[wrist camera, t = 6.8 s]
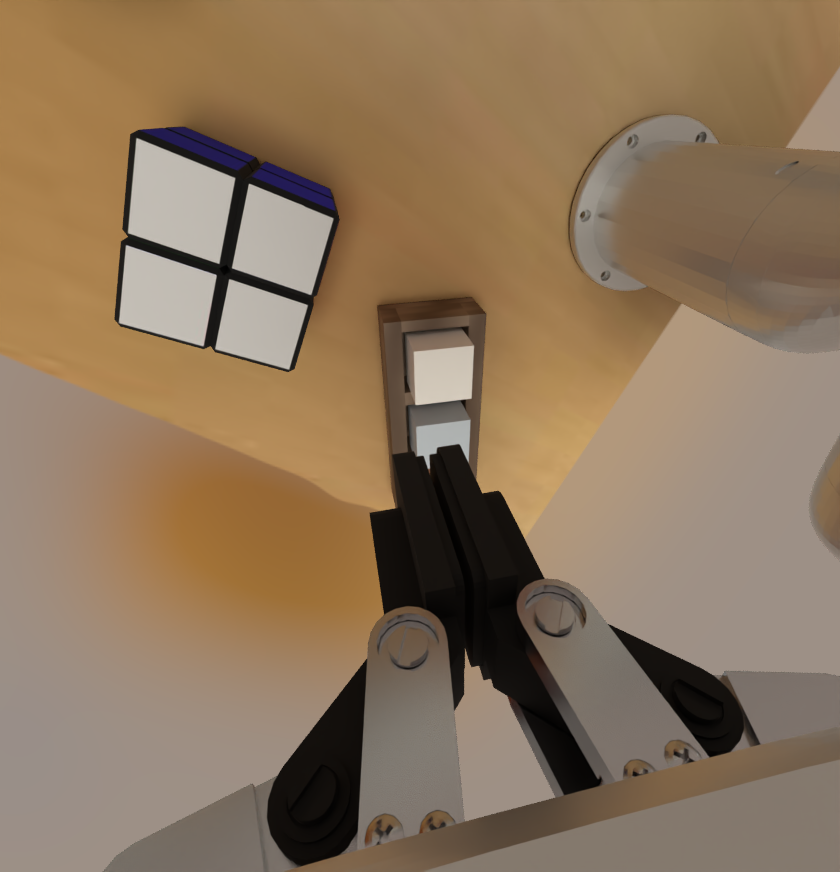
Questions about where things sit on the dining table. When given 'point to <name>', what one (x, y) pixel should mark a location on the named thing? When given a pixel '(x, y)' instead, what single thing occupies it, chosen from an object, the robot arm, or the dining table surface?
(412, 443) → the light grey cube
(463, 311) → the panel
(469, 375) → the white cube
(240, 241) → the puzzle cube
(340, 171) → the dining table surface
